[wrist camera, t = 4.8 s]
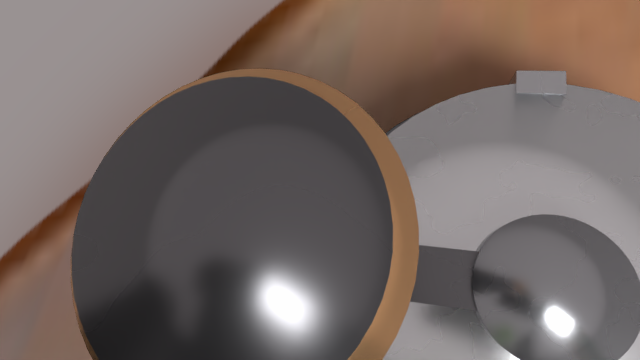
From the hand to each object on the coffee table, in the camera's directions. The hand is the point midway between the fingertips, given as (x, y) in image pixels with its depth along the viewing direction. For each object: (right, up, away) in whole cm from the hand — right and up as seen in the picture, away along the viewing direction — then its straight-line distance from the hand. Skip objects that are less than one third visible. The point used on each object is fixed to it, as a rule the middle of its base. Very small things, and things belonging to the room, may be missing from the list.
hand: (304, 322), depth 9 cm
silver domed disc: (+9, -1, +6) cm, 11 cm away
